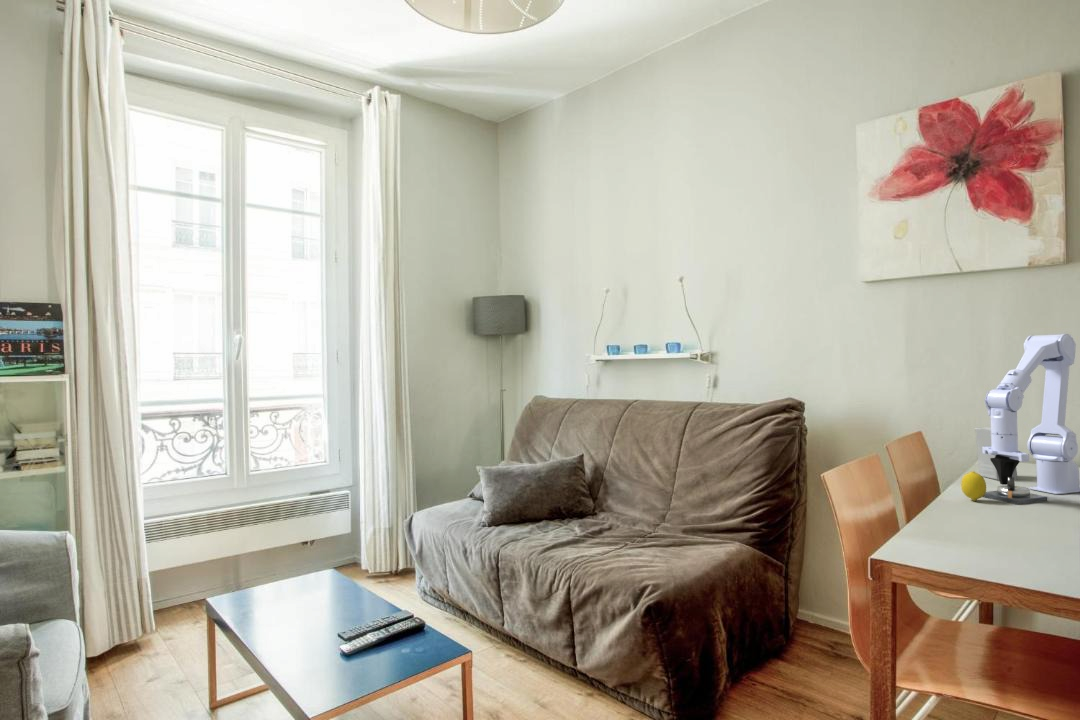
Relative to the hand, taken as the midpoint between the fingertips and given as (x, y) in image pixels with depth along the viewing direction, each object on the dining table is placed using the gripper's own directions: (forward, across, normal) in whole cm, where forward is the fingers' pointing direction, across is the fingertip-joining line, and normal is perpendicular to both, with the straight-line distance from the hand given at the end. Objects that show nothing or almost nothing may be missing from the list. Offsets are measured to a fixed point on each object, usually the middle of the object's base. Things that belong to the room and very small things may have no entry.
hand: (1005, 484), depth 165 cm
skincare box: (+4, -28, +17) cm, 33 cm away
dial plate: (+4, -1, +2) cm, 5 cm away
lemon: (+4, 0, -9) cm, 10 cm away
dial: (+3, -1, +2) cm, 4 cm away
